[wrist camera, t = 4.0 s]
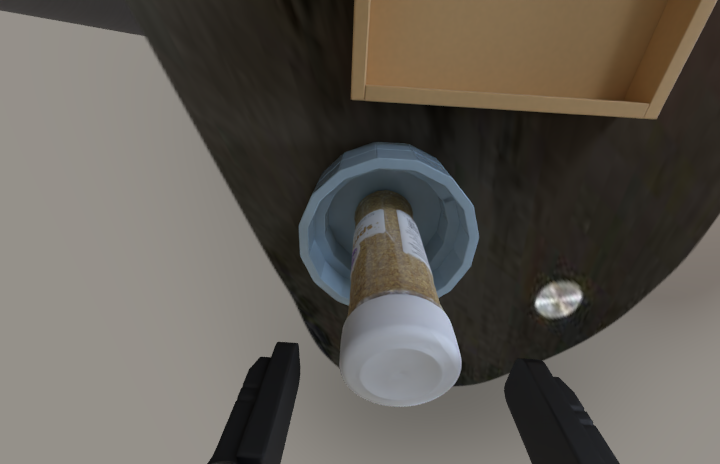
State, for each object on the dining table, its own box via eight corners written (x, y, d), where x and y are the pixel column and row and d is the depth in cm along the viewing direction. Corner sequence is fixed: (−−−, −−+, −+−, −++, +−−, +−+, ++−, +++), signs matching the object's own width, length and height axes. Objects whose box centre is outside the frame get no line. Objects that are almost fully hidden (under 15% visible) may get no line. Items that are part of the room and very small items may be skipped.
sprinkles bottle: (350, 192, 21) (327, 336, 10) (412, 185, 21) (468, 326, 9) (358, 244, 24) (347, 415, 12) (414, 239, 23) (462, 410, 11)
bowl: (314, 267, 25) (302, 307, 21) (310, 135, 20) (294, 152, 16) (441, 275, 25) (456, 317, 21) (471, 145, 20) (500, 165, 16)
